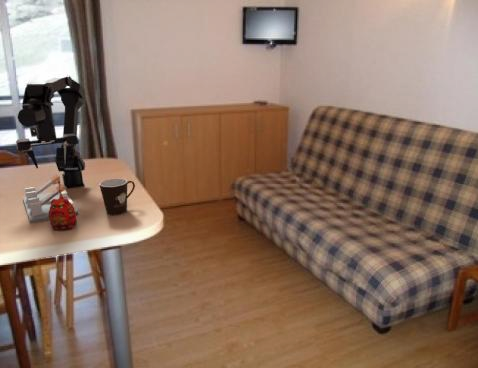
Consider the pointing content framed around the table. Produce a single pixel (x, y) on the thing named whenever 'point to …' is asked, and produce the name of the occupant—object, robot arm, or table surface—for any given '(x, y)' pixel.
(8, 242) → the table surface
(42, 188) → the strap far
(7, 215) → the table surface
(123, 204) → the coffee mug
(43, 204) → the strap near
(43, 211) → the grey stepped panel
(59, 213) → the red clay folk toy
